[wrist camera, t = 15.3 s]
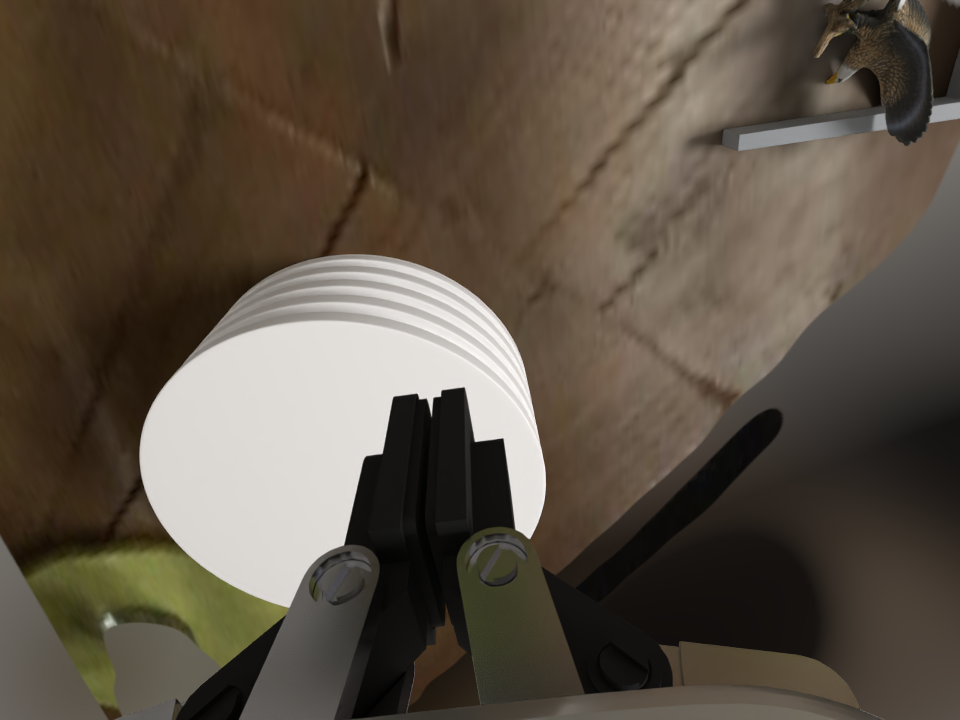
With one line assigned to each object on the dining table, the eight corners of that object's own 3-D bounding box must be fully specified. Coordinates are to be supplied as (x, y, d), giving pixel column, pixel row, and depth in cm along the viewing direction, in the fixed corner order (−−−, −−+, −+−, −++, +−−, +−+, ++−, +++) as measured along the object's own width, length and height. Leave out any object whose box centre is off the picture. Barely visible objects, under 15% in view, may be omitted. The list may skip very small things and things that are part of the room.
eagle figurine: (764, 93, 34) (870, 168, 36) (860, 18, 27) (989, 114, 29) (811, 3, 35) (913, 78, 37) (915, -93, 28) (1038, 4, 30)
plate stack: (571, 457, 52) (597, 554, 42) (325, 546, 57) (297, 651, 47) (441, 191, 38) (435, 242, 28) (135, 339, 43) (41, 426, 34)
